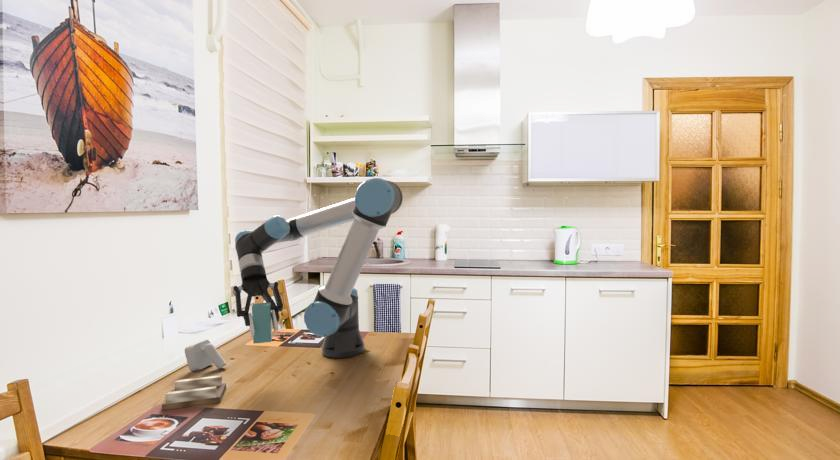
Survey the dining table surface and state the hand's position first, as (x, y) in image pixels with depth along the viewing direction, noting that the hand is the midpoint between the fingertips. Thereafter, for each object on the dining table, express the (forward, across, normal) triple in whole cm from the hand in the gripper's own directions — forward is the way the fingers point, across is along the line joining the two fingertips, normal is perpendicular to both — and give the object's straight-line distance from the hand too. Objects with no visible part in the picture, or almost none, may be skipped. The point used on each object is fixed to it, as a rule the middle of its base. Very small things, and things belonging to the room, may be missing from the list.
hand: (264, 332), depth 130 cm
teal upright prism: (0, 0, -5) cm, 5 cm away
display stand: (+11, +19, -11) cm, 24 cm away
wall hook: (-6, +14, -29) cm, 32 cm away
